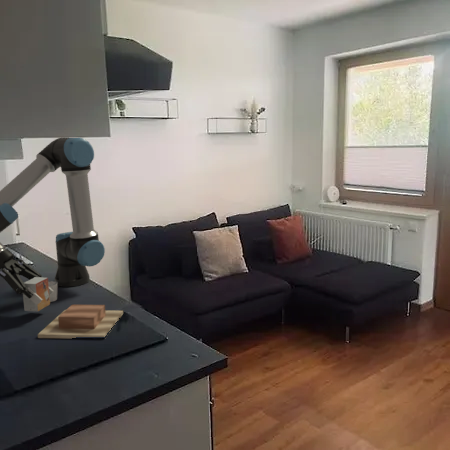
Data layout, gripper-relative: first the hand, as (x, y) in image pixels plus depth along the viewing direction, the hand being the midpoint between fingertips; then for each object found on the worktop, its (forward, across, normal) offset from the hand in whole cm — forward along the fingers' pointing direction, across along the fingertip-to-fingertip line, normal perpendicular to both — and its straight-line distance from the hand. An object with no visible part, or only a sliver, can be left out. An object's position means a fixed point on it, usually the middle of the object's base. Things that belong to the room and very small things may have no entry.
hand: (45, 297), depth 165 cm
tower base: (+17, +9, +7) cm, 20 cm away
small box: (0, 0, -5) cm, 5 cm away
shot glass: (+1, -16, -9) cm, 19 cm away
